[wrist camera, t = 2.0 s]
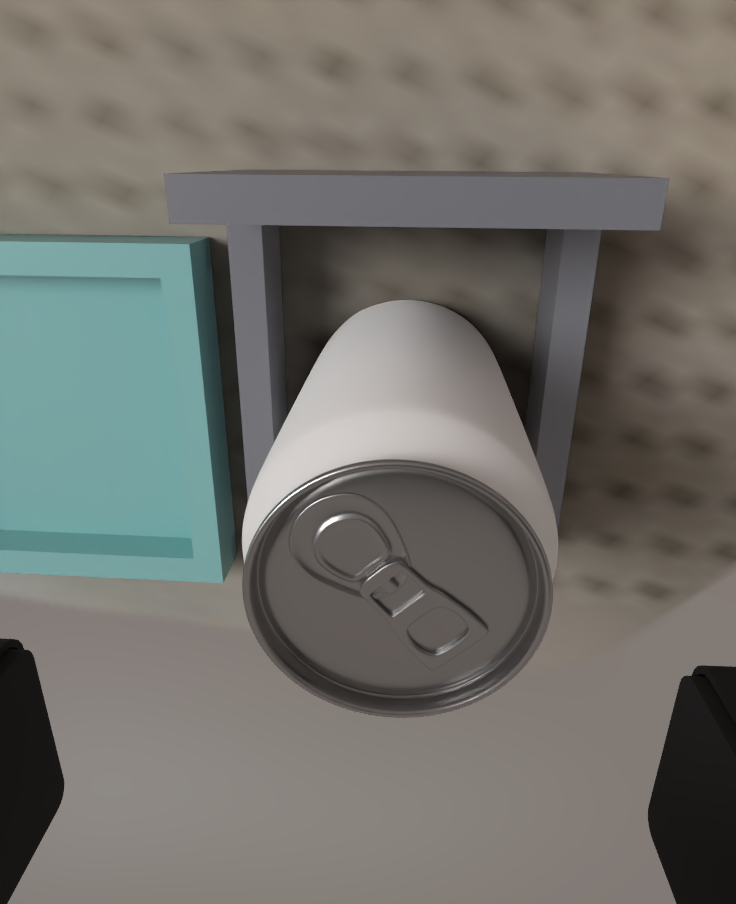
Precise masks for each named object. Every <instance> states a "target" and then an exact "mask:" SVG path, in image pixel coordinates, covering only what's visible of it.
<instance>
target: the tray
mask: <svg viewBox="0 0 736 904" xmlns="http://www.w3.org/2000/svg"><path fill="white" fill-rule="evenodd" d="M236 554H237V549H236V537H235V526H234V515H233V503H232V492H231V481H230V469H229V458H228V446H227V435H226V424H225V412H224V401H223V390H222V378H221V367H220V356H219V344H218V333H217V322H216V310H215V299H214V288H213V276H212V265H211V254H210V242H209V237H177V236H110V235H43V234H0V572H4V573H25V574H46V575H66V576H87V577H108V578H129V579H150V580H171V581H191V582H212V583H223V582H224V580H225V578H226V576H227V574H228V572H229V569H230V567H231V565H232V563H233V561H234V559H235V556H236Z"/></svg>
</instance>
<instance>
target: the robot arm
mask: <svg viewBox="0 0 736 904" xmlns="http://www.w3.org/2000/svg"><path fill="white" fill-rule="evenodd" d="M63 792H64V778H63V774H62V770H61V766H60V762H59V758H58V754H57V750H56V746H55V742H54V737H53V733H52V730H51V725H50V721H49V717H48V713H47V709H46V705H45V701H44V697H43V693H42V689H41V684H40V681H39V676H38V672H37V668H36V664H35V660H34V657H33V654H32V653H31V652H30V651H29V650H24V648H23V645H22V644H21V643H20V642H19V641H18V640H15V639H0V904H7V903H8V901H9V899H10V897H11V896H12V894H13V892H14V890H15V888H16V886H17V884H18V882H19V881H20V879H21V877H22V875H23V873H24V871H25V870H26V868H27V866H28V864H29V862H30V860H31V858H32V856H33V855H34V853H35V851H36V849H37V847H38V845H39V844H40V842H41V840H42V838H43V836H44V834H45V832H46V830H47V829H48V827H49V825H50V823H51V821H52V819H53V817H54V816H55V814H56V812H57V810H58V808H59V806H60V804H61V800H62V797H63ZM648 822H649V828H650V832H651V836H652V839H653V842H654V845H655V847H656V850H657V853H658V855H659V858H660V861H661V863H662V866H663V869H664V871H665V874H666V877H667V879H668V882H669V885H670V887H671V890H672V893H673V895H674V898H675V901H676V903H677V904H736V667H725V666H697V667H696V668H695V669H694V671H693V674H692V676H684V677H683V678H682V679H681V682H680V685H679V689H678V693H677V697H676V701H675V705H674V709H673V713H672V716H671V720H670V725H669V728H668V732H667V736H666V740H665V744H664V748H663V753H662V756H661V760H660V764H659V768H658V772H657V776H656V780H655V784H654V788H653V792H652V796H651V800H650V804H649V808H648Z"/></svg>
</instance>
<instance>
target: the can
mask: <svg viewBox="0 0 736 904" xmlns="http://www.w3.org/2000/svg"><path fill="white" fill-rule="evenodd" d="M242 550H243V558H244V569H243V579H242V589H243V600H244V606H245V611H246V614H247V618H248V621H249V623H250V626H251V628H252V631H253V633H254V635H255V637H256V639H257V640H258V642H259V644H260V645H261V647H262V648H263V650H264V651H265V653H266V654H267V656H268V657H269V658H270V659H271V660H272V662H273V663H274V664H275V665H276V666H277V667H278V668H279V669H280V670H281V671H282V672H283V673H284V674H285V675H286V676H287V677H289V678H290V679H291V680H292V681H294V682H295V683H296V684H298V685H299V686H300V687H302V688H303V689H305V690H307V691H308V692H310V693H311V694H313V695H315V696H317V697H319V698H321V699H323V700H325V701H327V702H329V703H332V704H334V705H337V706H340V707H342V708H346V709H348V710H352V711H355V712H360V713H364V714H369V715H375V716H383V717H397V718H400V717H401V718H406V717H423V716H431V715H436V714H441V713H446V712H450V711H453V710H457V709H460V708H463V707H465V706H468V705H471V704H473V703H475V702H477V701H479V700H481V699H483V698H485V697H487V696H489V695H491V694H492V693H494V692H495V691H497V690H498V689H500V688H501V687H503V686H504V685H505V684H507V683H508V682H509V681H510V680H512V679H513V678H514V677H515V676H516V675H517V674H518V673H519V672H520V671H521V670H522V669H523V668H524V667H525V665H526V664H527V663H528V662H529V660H530V659H531V658H532V656H533V655H534V653H535V652H536V650H537V649H538V647H539V645H540V643H541V641H542V639H543V637H544V635H545V632H546V630H547V627H548V624H549V620H550V616H551V611H552V602H553V579H554V575H555V571H556V566H557V560H558V532H557V526H556V519H555V514H554V510H553V506H552V503H551V500H550V497H549V494H548V490H547V488H546V485H545V482H544V479H543V477H542V474H541V471H540V469H539V466H538V463H537V461H536V458H535V455H534V453H533V450H532V448H531V445H530V442H529V440H528V437H527V435H526V432H525V430H524V427H523V425H522V422H521V419H520V417H519V414H518V412H517V409H516V407H515V404H514V402H513V399H512V397H511V394H510V392H509V389H508V387H507V384H506V382H505V379H504V377H503V374H502V372H501V370H500V367H499V365H498V363H497V360H496V358H495V356H494V354H493V352H492V350H491V348H490V346H489V345H488V343H487V342H486V340H485V339H484V338H483V336H482V335H481V334H480V333H479V331H478V330H477V329H476V328H475V327H474V326H473V325H472V324H470V323H469V322H468V321H467V320H466V319H464V318H463V317H461V316H460V315H458V314H457V313H455V312H453V311H451V310H449V309H447V308H445V307H442V306H440V305H436V304H433V303H429V302H424V301H417V300H397V301H390V302H385V303H381V304H377V305H374V306H371V307H368V308H366V309H363V310H361V311H359V312H358V313H356V314H354V315H353V316H352V317H350V318H349V319H348V320H347V321H346V322H344V323H343V324H342V325H341V326H340V327H339V328H338V329H337V331H336V332H335V333H334V334H333V335H332V337H331V338H330V339H329V341H328V342H327V344H326V345H325V347H324V349H323V350H322V352H321V354H320V355H319V357H318V359H317V361H316V363H315V364H314V366H313V368H312V370H311V372H310V374H309V376H308V378H307V380H306V382H305V383H304V385H303V387H302V389H301V391H300V393H299V395H298V397H297V399H296V401H295V403H294V405H293V407H292V409H291V410H290V412H289V414H288V416H287V418H286V420H285V422H284V424H283V426H282V428H281V430H280V432H279V434H278V436H277V438H276V440H275V442H274V444H273V446H272V448H271V450H270V452H269V454H268V456H267V458H266V460H265V462H264V464H263V466H262V468H261V470H260V472H259V475H258V477H257V479H256V481H255V484H254V486H253V488H252V491H251V494H250V497H249V500H248V503H247V507H246V511H245V515H244V520H243V528H242Z"/></svg>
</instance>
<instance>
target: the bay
mask: <svg viewBox="0 0 736 904" xmlns="http://www.w3.org/2000/svg"><path fill="white" fill-rule="evenodd" d="M164 179H165V188H166V197H167V206H168V215H169V224H218V225H226V226H227V238H228V251H229V264H230V277H231V290H232V303H233V316H234V329H235V342H236V355H237V368H238V381H239V394H240V407H241V420H242V433H243V446H244V459H245V472H246V485H247V498H248V500H249V497H250V494H251V491H252V488H253V486H254V484H255V481H256V479H257V477H258V475H259V472H260V470H261V468H262V466H263V464H264V462H265V460H266V458H267V456H268V454H269V452H270V450H271V448H272V446H273V444H274V442H275V440H276V438H277V436H278V434H279V432H280V430H281V428H282V426H283V424H284V422H285V420H286V418H287V416H288V409H287V387H286V366H285V344H284V322H283V301H282V279H281V257H280V236H279V225H291V226H364V227H436V228H509V229H547V235H546V244H545V252H544V261H543V270H542V279H541V288H540V297H539V306H538V315H537V323H536V332H535V341H534V350H533V359H532V368H531V377H530V386H529V395H528V403H527V412H526V421H525V432H526V435H527V437H528V440H529V442H530V445H531V448H532V450H533V453H534V455H535V458H536V461H537V463H538V466H539V469H540V471H541V474H542V477H543V479H544V482H545V485H546V488H547V490H548V494H549V497H550V500H551V503H552V506H553V510H554V514H555V519H556V526H557V532H558V528H559V521H560V514H561V507H562V500H563V493H564V486H565V480H566V473H567V466H568V459H569V452H570V445H571V438H572V431H573V424H574V417H575V411H576V404H577V397H578V390H579V383H580V376H581V369H582V362H583V355H584V349H585V342H586V335H587V328H588V321H589V314H590V307H591V300H592V293H593V286H594V280H595V273H596V266H597V259H598V252H599V245H600V238H601V231H602V230H655V231H660V228H661V222H662V217H663V211H664V206H665V200H666V194H667V189H668V183H669V178H657V177H643V176H629V175H614V174H600V173H571V172H453V171H334V170H230V171H210V172H190V173H171V174H164Z"/></svg>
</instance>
